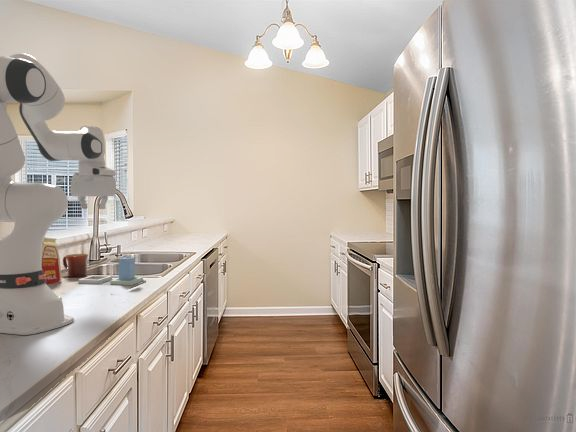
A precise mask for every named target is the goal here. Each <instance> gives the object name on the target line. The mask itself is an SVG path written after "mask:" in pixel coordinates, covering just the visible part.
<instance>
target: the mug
mask: <svg viewBox="0 0 576 432" xmlns="http://www.w3.org/2000/svg"><path fill="white" fill-rule="evenodd" d="M88 258H89V254H88V253H73V254H72V253H71V254H67V255H65V256H64V257H63V258H62V264H63V267H64V268H65V270H67V276H68V278H85V277H87V275H88V267H87V261H88Z"/></svg>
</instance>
